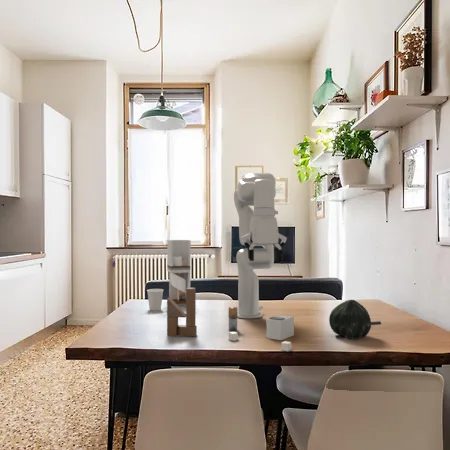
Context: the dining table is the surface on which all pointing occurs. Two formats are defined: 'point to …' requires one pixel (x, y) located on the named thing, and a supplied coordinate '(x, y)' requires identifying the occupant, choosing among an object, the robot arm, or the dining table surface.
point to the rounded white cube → (233, 336)
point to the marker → (286, 346)
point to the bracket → (375, 323)
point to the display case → (179, 269)
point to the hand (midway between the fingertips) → (264, 260)
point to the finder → (280, 327)
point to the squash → (350, 320)
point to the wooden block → (176, 312)
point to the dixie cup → (155, 299)
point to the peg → (233, 318)
